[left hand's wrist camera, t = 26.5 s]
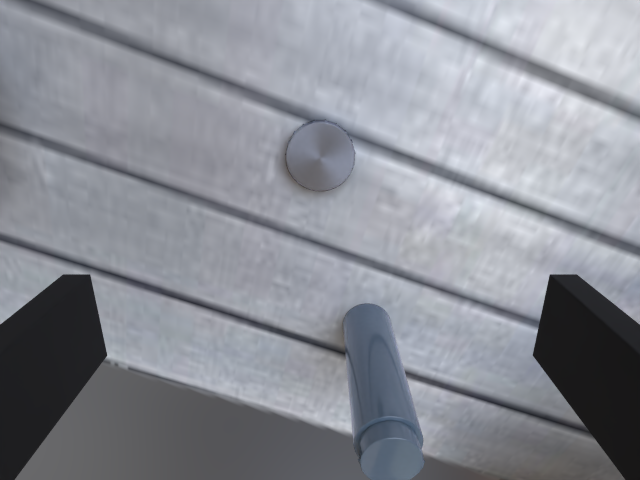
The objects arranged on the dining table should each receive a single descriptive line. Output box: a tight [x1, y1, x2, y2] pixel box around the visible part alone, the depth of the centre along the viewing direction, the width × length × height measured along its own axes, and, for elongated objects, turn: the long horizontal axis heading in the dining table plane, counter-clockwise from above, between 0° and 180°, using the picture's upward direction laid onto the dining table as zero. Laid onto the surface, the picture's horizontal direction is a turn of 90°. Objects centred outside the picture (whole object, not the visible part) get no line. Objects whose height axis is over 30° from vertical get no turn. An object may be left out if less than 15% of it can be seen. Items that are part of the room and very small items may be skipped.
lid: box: [285, 120, 355, 191], centre depth 38 cm, size 6×6×2 cm
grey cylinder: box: [343, 304, 425, 480], centre depth 37 cm, size 5×5×17 cm
